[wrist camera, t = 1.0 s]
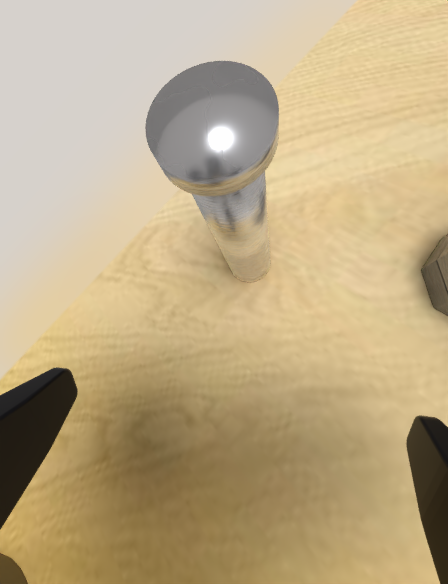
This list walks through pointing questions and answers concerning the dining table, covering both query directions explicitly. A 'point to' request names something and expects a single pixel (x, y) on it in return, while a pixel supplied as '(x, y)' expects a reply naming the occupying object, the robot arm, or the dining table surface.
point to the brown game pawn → (10, 572)
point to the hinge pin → (221, 154)
